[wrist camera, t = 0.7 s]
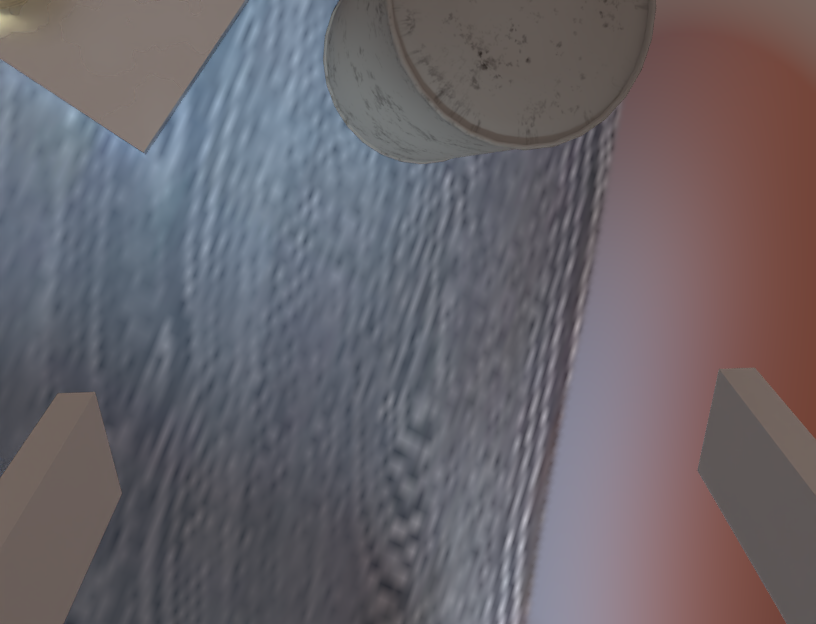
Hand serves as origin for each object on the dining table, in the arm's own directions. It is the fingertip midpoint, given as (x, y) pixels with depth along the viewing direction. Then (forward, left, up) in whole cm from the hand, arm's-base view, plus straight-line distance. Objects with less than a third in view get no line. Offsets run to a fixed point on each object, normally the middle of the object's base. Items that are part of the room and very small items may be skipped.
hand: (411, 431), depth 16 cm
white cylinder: (+13, +1, -21) cm, 25 cm away
